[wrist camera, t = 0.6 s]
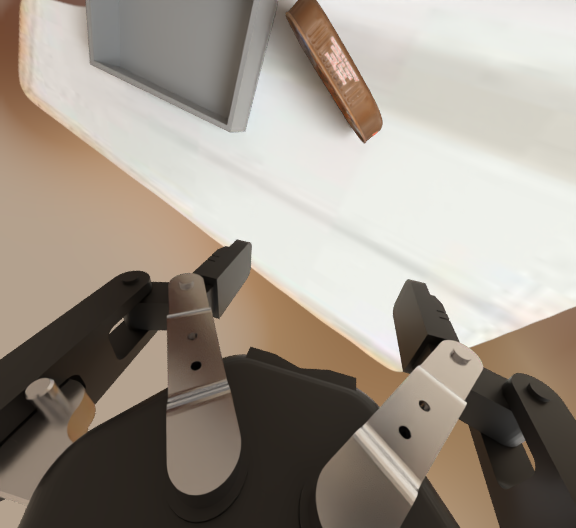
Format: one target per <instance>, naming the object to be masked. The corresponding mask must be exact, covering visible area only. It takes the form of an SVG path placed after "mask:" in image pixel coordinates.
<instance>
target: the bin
mask: <svg viewBox="0 0 576 528" xmlns="http://www.w3.org/2000/svg"><path fill="white" fill-rule="evenodd" d="M277 5H278V1H277V0H86V13H87V27H88V41H89V55H90V64H91V65H93V66H95V67H97V68H99V69H101V70H103V71H105V72H107V73H109V74H111V75H113V76H115V77H117V78H119V79H121V80H123V81H125V82H128V83H130V84H132V85H134V86H136V87H138V88H140V89H142V90H144V91H146V92H148V93H150V94H152V95H154V96H156V97H158V98H160V99H163V100H165V101H167V102H169V103H171V104H173V105H175V106H177V107H179V108H181V109H183V110H185V111H187V112H189V113H191V114H193V115H195V116H198V117H200V118H202V119H204V120H206V121H208V122H210V123H212V124H214V125H216V126H218V127H220V128H222V129H224V130H226V131H228V132H244V131H245V130H246V126H247V122H248V118H249V114H250V111H251V107H252V103H253V99H254V95H255V91H256V87H257V83H258V79H259V75H260V71H261V67H262V63H263V60H264V56H265V52H266V48H267V44H268V40H269V36H270V32H271V28H272V24H273V20H274V16H275V12H276V9H277Z"/></svg>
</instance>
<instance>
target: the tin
mask: <svg viewBox="0 0 576 528" xmlns="http://www.w3.org/2000/svg"><path fill="white" fill-rule="evenodd" d="M286 17H287V19H288V22H289V24H290V26H291V28H292V29H293V31H294V33H295V35H296V37H297V39H298V41H299V43H300V45H301V47H302V48H303V50H304V52H305V53H306V55H307V57H308V58H309V60H310V61H311V63H312V65H313V67H314V68H315V70H316V71H317V73H318V75H319V76H320V78H321V79H322V81H323V83H324V84H325V86H326V87H327V89H328V91H329V92H330V94H331V96H332V97H333V99H334V100H335V102H336V104H337V105H338V107H339V109H340V110H341V112H342V113H343V115H344V117H345V118H346V120H347V121H348V123H349V124H350V126H351V127H352V129H353V130H354V132H355V133H356V134H357V136H358V137H359V138H360V140H361V141H362V142H363V143H366V141H367V140H368V139H370V138H371V137H372V136H374V135H375V134H376V133H377V132H378V131H380V130H381V127H382V124H383V122H382V117H381V114H380V111H379V109H378V106H377V104H376V102H375V100H374V98H373V96H372V94H371V92H370V90H369V89H368V87H367V85H366V83H365V81H364V80H363V78H362V76H361V74H360V72H359V71H358V69H357V67H356V65H355V64H354V62H353V60H352V58H351V57H350V55H349V53H348V51H347V50H346V48H345V46H344V44H343V43H342V41H341V39H340V38H339V36H338V34H337V32H336V31H335V29H334V27H333V26H332V24H331V22H330V21H329V19H328V17H327V16H326V14H325V12H324V11H323V9H322V8H321V6H320V5H319V3H318V2H317V1H316V0H298V1H297V2H296V3H295V5H294V6H293V7H292V8H291V9H290V11H288V12H286Z"/></svg>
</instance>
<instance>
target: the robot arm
mask: <svg viewBox="0 0 576 528" xmlns="http://www.w3.org/2000/svg"><path fill="white" fill-rule="evenodd" d="M251 250H252V245H251V243H250V242H246V241H241V240H236V241H235V242H234V243H233V244H232V245H231V246H230V247H227V246H225V247H223V248H220V249H218V250H217V251H216V252H214V253H213V254H212V256H210V257H209V258H208V260H206V261H205V262H204V263H203V264H202V265H201V266H200V267H199V268H197V269H196V270H195V271H194V272H193V273H185V274H180V275H177V276H175V277H174V278H172V279H171V280H170V282H151V280H150V276H149V274H147V273H145V272H143V271H129V272H125V273H122V274H120V275H118V276H116V277H115V278H114V279H112V280H111V281H109V282H108V283H107V284H105V285H104V286H102V287H101V288H100V289H98V290H97V291H95V292H94V293H93V294H91V295H90V296H88V297H87V298H86V299H84V300H83V301H81V302H80V303H79V304H77V305H76V306H74V307H73V308H72V309H70V310H69V311H67V312H66V313H65V314H63V315H62V316H60V317H59V318H58V319H56V320H55V321H54V322H52V323H51V324H49V325H48V326H47V327H45V328H44V329H42V330H41V331H40V332H38V333H37V334H35V335H34V336H33V337H31V338H30V339H28V340H27V341H26V342H24V343H23V344H22V345H20V346H19V347H17V348H16V349H14V350H13V351H12V352H10V353H9V354H7V355H6V356H5V357H3V358H2V359H0V501H2V500H5V499H8V500H11V501H14V502H18V503H20V504H24V505H27V508H26V510H25V513H24V515H23V518H22V520H21V522H20V524H19V526H18V528H460V527H459V525H458V524H457V522H456V521H455V519H454V518H453V516H452V514H451V513H450V511H449V510H448V508H447V507H446V505H445V504H444V503H443V501H442V500H441V498H440V496H439V495H438V494H437V492H436V490H435V489H434V487H433V486H432V484H431V483H430V481H429V480H428V479H427V477H426V474H427V473H428V471H429V469H430V467H431V466H432V464H433V462H434V460H435V459H436V457H437V455H438V453H439V452H440V450H441V448H442V446H443V445H444V443H445V441H446V440H447V438H448V436H449V434H450V432H451V431H452V429H453V427H454V426H455V424H456V422H457V420H458V419H459V420H461V421H463V422H464V423H466V424H468V425H469V428H470V431H471V435H472V438H473V441H474V445H475V448H476V451H477V454H478V458H479V461H480V464H481V467H482V471H483V474H484V477H485V480H486V484H487V487H488V490H489V494H490V497H491V500H492V504H493V507H494V510H495V513H496V516H497V520H498V523H499V526H500V528H576V420H575V419H574V417H573V416H572V414H571V413H570V411H569V410H568V408H567V407H566V405H565V404H564V402H563V401H562V399H561V398H560V397H559V396H558V395H557V394H556V393H555V392H554V391H553V390H552V389H551V388H550V387H549V386H547V385H546V384H544V383H543V382H541V381H539V380H538V379H536V378H534V377H532V376H529V375H527V374H522V373H516V374H514V375H513V376H511V377H510V378H509V379H506V378H504V377H502V376H500V375H497V374H496V373H493V372H492V371H490V370H488V369H486V368H484V367H483V364H482V361H481V360H480V358H479V357H478V356H477V354H476V353H475V352H473V351H472V350H471V349H470V348H468V347H467V346H465V345H463V344H461V343H460V342H459V340H458V337H457V335H456V333H455V331H454V329H453V326H452V324H451V322H450V321H449V318H448V315H447V314H446V311H445V309H444V307H443V305H442V303H441V302H440V301H439V300H438V299H437V298H436V297H435V296H433V295H430V293H429V291H428V288H427V286H426V284H425V283H422V282H418V281H414V280H409V279H408V280H407V281H406V282H405V284H404V286H403V288H402V290H401V292H400V294H399V296H398V298H397V300H396V302H395V305H394V308H393V318H394V324H395V329H396V335H397V340H398V346H399V351H400V357H401V362H402V368H403V372H406V373H409V374H410V375H409V376H408V377H407V378H406V379H405V380H404V381H403V383H402V384H401V385H400V386H399V387H398V388H397V389H396V390H395V392H394V393H393V394H392V395H391V396H390V397H389V398H388V399H387V400H386V401H385V402H384V403H383V405H382V406H381V407H379V406H378V405H377V404H376V403H375V402H374V401H373V400H372V399H371V398H370V397H369V396H368V395H367V394H365V393H364V392H362V391H361V390H359V389H358V388H356V378H354V377H351V376H347V375H344V374H341V373H337V372H334V371H331V370H319V369H303V368H299V367H297V366H295V365H293V364H292V363H290V362H288V361H286V360H285V359H282V358H281V357H279V356H278V355H276V354H273V353H270V352H266V351H263V350H260V349H256V348H253V347H250V349H249V351H248V353H247V355H245V354H242V355H233V356H228V357H225V358H222V356H221V351H220V346H219V342H218V337H217V333H216V328H215V323H214V319H213V317H215V318H218V319H219V318H220V317H221V316H222V314H223V313H224V311H225V310H226V308H227V307H228V305H229V304H230V303H231V301H232V299H233V298H234V297H235V295H236V294H237V292H238V291H239V290H240V288H241V287H242V285H243V284H244V282H245V281H246V279H247V278H248V276H249V273H250V269H251ZM122 318H124V321H123V322H122V323H121V324H120V325H119V326H118V327H116V328H115V329H114V330H113V331H112V332H111V333H110V331H111V329H112V328H113V326H114V325H116V324H117V323H118V322H119V321H120V320H121V319H122ZM158 330H167V359H168V360H167V361H168V362H167V363H168V388H166V389H164V390H162V391H160V392H159V393H157V394H155V395H153V396H151V397H150V398H148V399H146V400H144V401H142V402H141V403H139V404H137V405H135V406H133V407H131V408H130V409H128V410H126V411H124V412H122V413H120V414H119V415H117V416H115V417H113V418H111V419H109V420H108V421H106V422H104V423H102V424H100V425H98V426H97V427H95V428H93V429H92V430H90V431H88V427H89V426H90V424H91V423H92V421H93V419H94V416H95V412H96V408H95V404H96V403H97V401H98V400H99V399H100V398H101V397H102V396H103V395H104V393H105V392H106V391H107V390H108V389H109V387H110V386H111V385H112V384H113V383H114V381H115V380H116V379H117V378H118V377H119V376H120V375H121V373H122V372H123V371H124V370H125V369H126V367H127V366H128V365H129V364H130V363H131V362H132V360H133V359H134V358H135V357H136V356H137V355H138V353H139V352H140V351H141V350H142V349H143V347H144V346H145V345H146V344H147V343H148V342H149V340H150V339H151V338H152V337H153V336H154V335H155V333H156V332H157V331H158ZM109 333H110V334H109ZM524 441H526V443H527V445H528V447H529V449H530V451H531V453H532V455H533V458H534V460H535V471H534V469H533V467H532V465H531V462H530V460H529V458H528V456H527V454H526V451H525V449H524V447H523V445H522V443H523V442H524Z"/></svg>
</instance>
